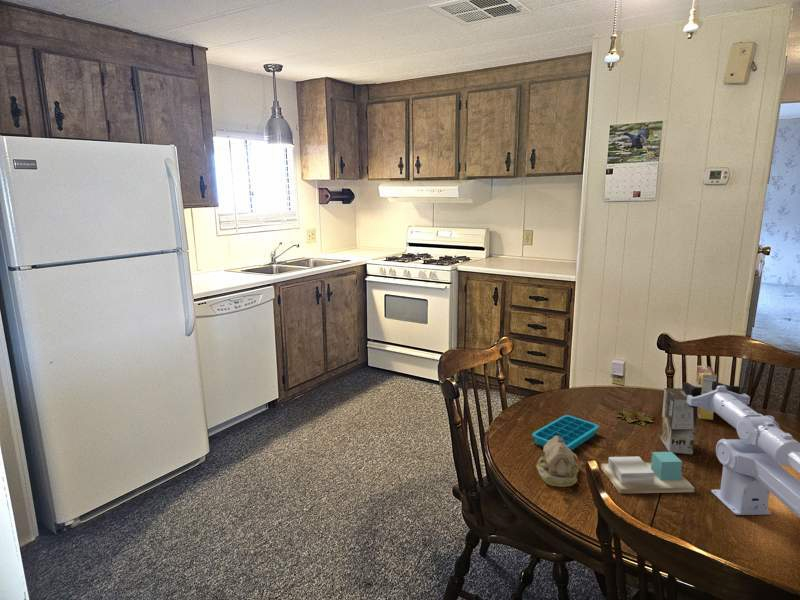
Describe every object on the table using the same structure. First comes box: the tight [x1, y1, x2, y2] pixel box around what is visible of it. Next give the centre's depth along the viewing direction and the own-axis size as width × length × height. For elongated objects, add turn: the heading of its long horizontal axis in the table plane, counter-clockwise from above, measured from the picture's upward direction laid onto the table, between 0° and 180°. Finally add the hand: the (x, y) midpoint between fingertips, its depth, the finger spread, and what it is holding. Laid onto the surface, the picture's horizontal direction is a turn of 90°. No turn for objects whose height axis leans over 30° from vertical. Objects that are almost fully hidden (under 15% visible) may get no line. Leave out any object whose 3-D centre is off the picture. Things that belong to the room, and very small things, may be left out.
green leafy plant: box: [617, 405, 654, 427], centre depth 164 cm, size 12×12×5 cm
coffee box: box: [659, 387, 698, 455], centre depth 144 cm, size 9×6×16 cm
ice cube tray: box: [531, 414, 600, 451], centre depth 151 cm, size 12×20×3 cm, turn 132°
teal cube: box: [650, 451, 683, 480], centre depth 128 cm, size 5×5×5 cm
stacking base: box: [600, 455, 695, 494], centre depth 128 cm, size 12×18×4 cm, turn 90°
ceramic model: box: [535, 436, 580, 488], centre depth 132 cm, size 14×11×10 cm
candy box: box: [695, 365, 718, 421], centre depth 164 cm, size 9×4×15 cm, turn 160°
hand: (698, 385), depth 133 cm, fingers open, 7 cm apart
